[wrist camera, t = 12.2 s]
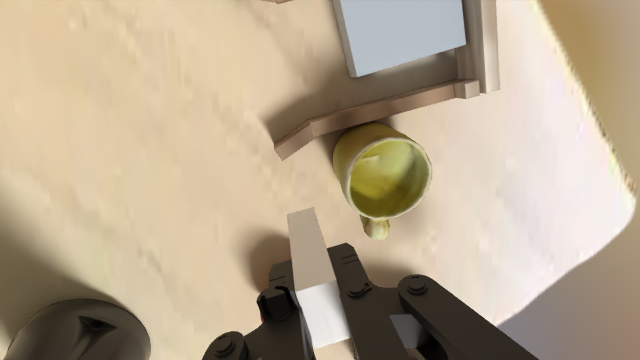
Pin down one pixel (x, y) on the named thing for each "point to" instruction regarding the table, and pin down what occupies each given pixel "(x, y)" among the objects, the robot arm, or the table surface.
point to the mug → (380, 174)
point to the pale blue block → (396, 31)
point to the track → (473, 78)
